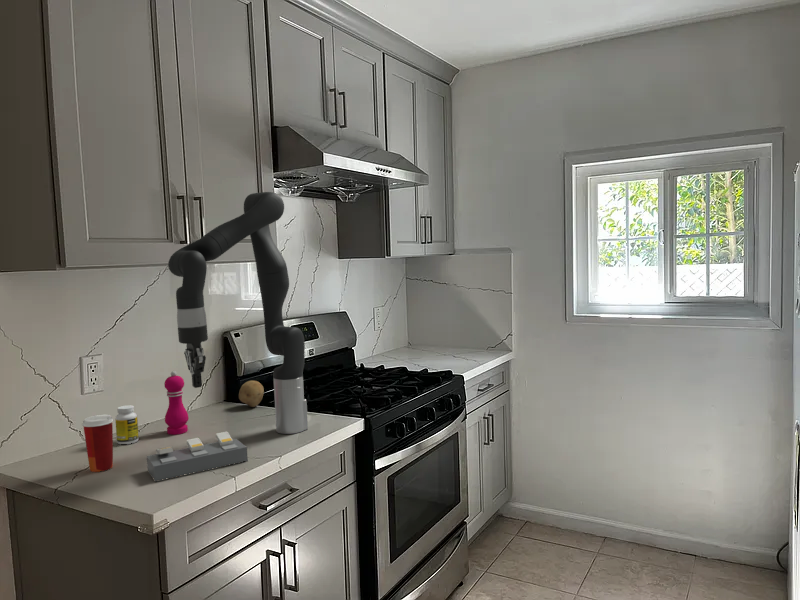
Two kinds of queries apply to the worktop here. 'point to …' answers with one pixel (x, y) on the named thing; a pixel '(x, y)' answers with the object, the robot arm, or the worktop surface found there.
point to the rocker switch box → (195, 459)
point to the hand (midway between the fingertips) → (197, 386)
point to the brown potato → (251, 393)
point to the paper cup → (99, 442)
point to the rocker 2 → (224, 438)
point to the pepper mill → (175, 405)
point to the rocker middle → (195, 444)
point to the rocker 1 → (164, 450)
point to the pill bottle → (126, 425)
